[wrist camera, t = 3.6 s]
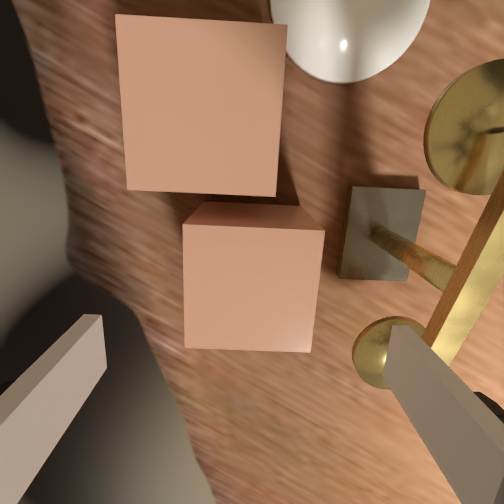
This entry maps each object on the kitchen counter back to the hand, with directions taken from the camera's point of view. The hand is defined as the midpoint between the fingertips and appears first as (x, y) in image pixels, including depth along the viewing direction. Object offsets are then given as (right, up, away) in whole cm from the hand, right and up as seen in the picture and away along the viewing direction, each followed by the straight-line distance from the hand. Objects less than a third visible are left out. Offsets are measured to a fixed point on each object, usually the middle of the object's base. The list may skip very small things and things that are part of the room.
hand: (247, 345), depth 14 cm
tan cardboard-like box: (-2, +14, +10) cm, 18 cm away
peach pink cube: (0, +5, +14) cm, 14 cm away
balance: (+11, +6, +13) cm, 18 cm away
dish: (+7, +22, +8) cm, 25 cm away
